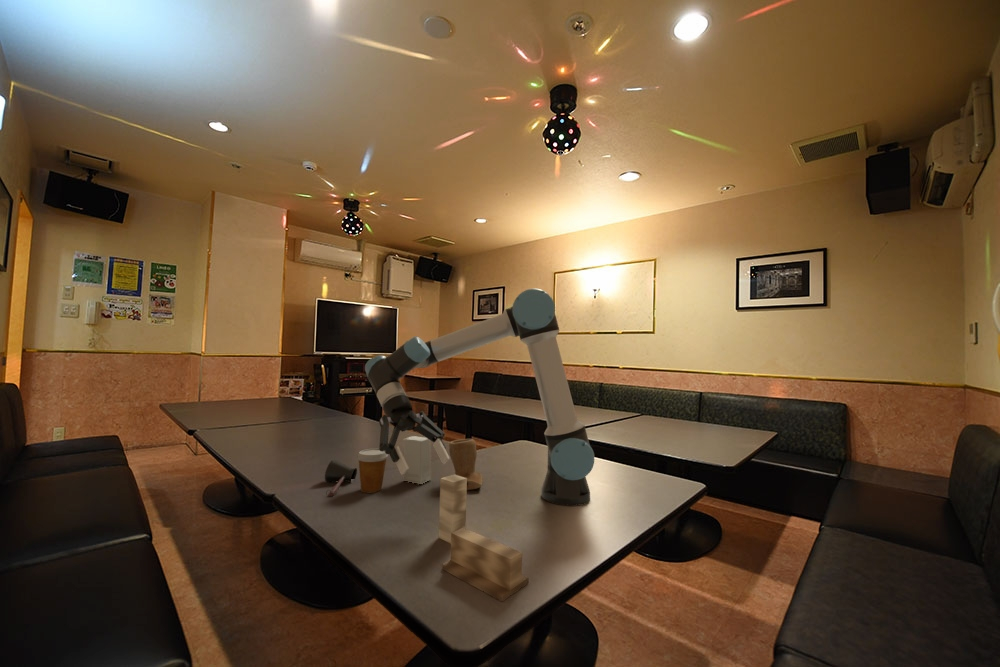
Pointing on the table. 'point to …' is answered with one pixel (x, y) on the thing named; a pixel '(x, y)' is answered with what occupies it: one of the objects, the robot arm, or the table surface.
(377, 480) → the disposable coffee cup
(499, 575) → the ridge
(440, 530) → the block
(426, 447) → the skincare box
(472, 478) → the tan upright curved piece
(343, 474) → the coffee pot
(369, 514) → the table surface
